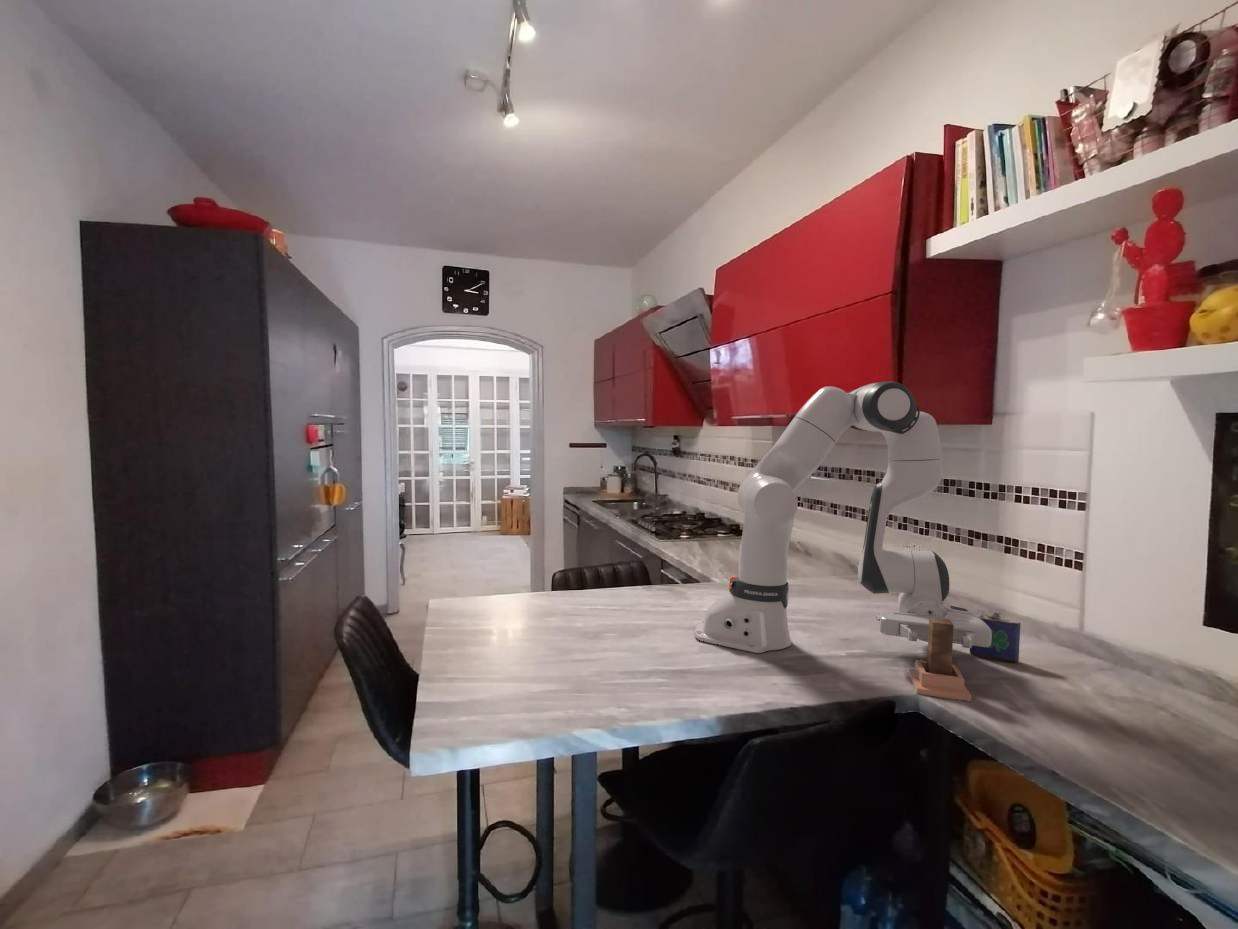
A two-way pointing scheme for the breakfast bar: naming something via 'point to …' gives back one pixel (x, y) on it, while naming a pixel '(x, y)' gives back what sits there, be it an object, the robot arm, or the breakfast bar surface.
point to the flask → (1000, 639)
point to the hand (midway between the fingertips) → (940, 640)
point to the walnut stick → (940, 646)
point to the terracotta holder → (938, 682)
